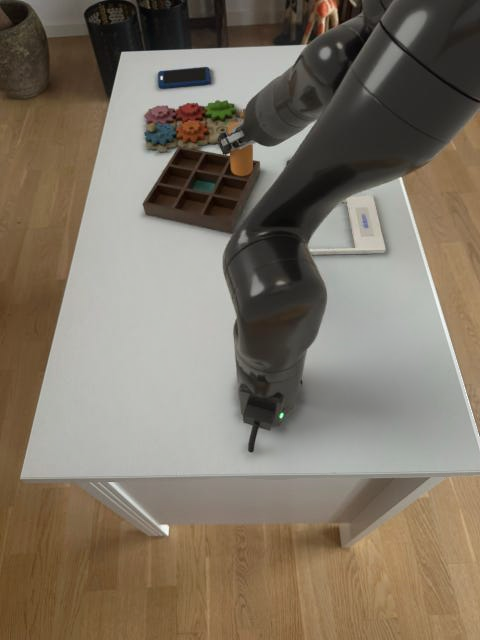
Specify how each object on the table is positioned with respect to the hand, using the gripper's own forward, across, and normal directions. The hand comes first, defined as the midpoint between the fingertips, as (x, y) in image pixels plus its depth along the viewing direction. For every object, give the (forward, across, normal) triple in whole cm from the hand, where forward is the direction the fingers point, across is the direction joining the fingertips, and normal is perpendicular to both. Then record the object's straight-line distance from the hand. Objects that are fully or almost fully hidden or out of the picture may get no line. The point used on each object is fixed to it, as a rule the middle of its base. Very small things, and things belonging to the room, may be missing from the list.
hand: (235, 143), depth 78 cm
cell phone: (+46, +17, +24) cm, 55 cm away
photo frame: (+1, +12, -22) cm, 25 cm away
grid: (+18, -3, -5) cm, 18 cm away
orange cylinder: (+2, 0, -4) cm, 5 cm away
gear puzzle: (+31, +11, +8) cm, 34 cm away
